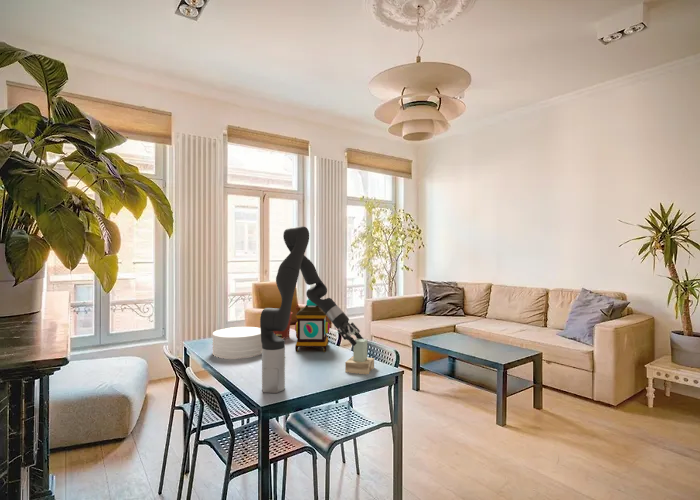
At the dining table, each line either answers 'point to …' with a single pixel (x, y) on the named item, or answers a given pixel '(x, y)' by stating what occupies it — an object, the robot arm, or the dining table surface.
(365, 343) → the sage pillar
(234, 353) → the plate stack
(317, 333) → the decorative lantern
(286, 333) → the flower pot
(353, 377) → the dining table surface
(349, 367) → the oak block
